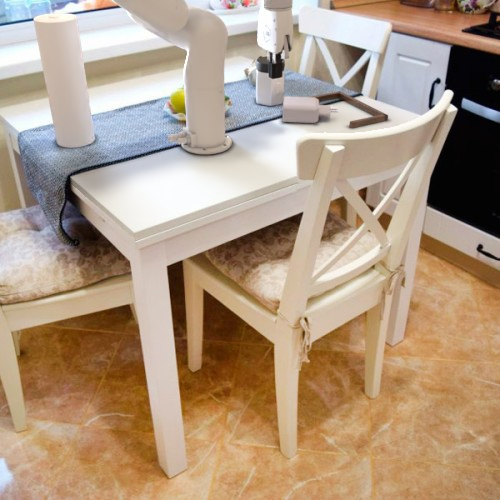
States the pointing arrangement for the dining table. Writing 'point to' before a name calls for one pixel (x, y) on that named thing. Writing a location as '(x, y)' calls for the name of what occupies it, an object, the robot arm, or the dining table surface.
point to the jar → (268, 84)
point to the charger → (304, 109)
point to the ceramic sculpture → (252, 73)
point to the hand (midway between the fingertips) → (275, 77)
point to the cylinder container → (65, 78)
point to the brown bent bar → (377, 114)
